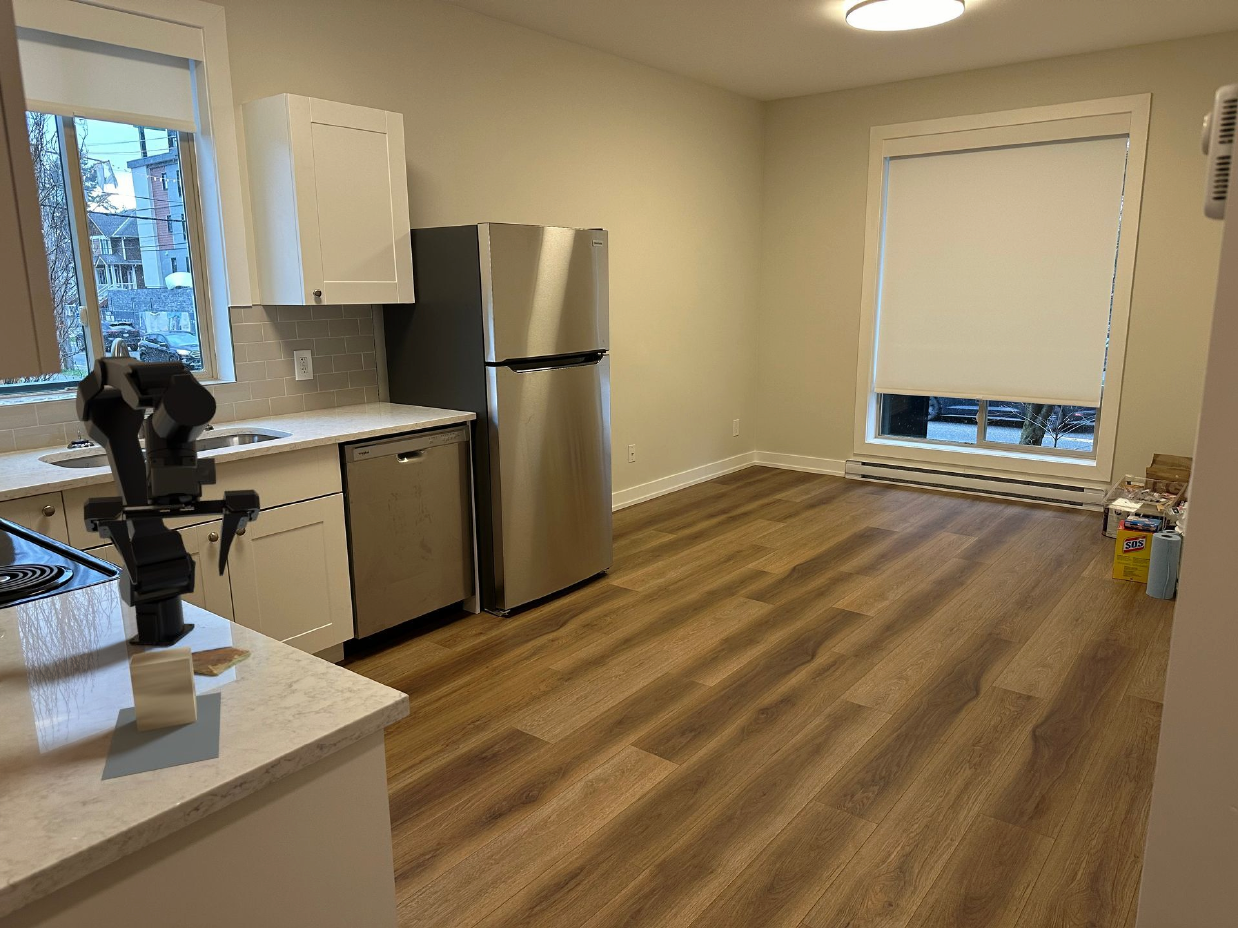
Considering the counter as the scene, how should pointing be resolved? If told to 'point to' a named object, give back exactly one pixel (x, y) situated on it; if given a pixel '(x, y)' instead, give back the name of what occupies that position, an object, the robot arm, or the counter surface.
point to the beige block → (163, 688)
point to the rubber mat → (164, 741)
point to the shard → (218, 660)
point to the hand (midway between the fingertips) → (179, 579)
